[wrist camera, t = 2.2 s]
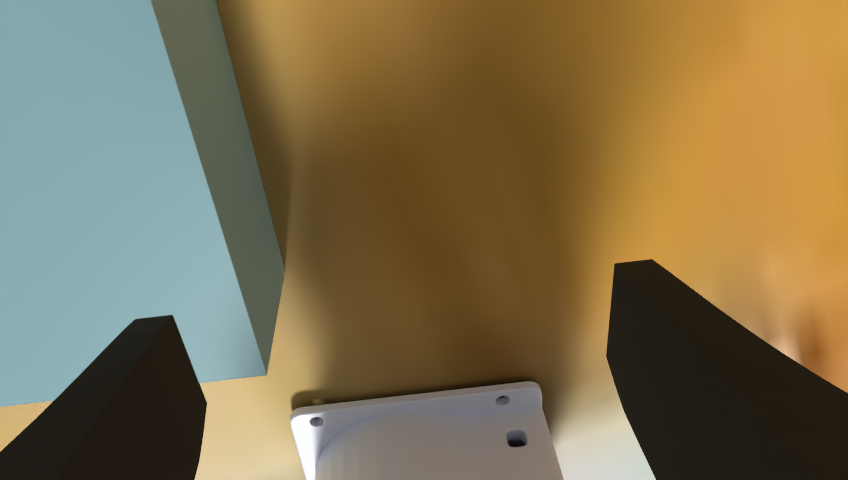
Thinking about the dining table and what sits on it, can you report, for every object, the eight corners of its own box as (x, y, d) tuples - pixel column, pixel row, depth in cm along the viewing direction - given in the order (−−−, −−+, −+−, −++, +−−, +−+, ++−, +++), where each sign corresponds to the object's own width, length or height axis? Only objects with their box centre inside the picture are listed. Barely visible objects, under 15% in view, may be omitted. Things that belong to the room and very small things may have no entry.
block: (202, -63, 16) (144, -18, 12) (285, 266, 22) (266, 374, 18) (-125, -27, 16) (-297, 31, 12) (42, 294, 22) (-35, 411, 17)
